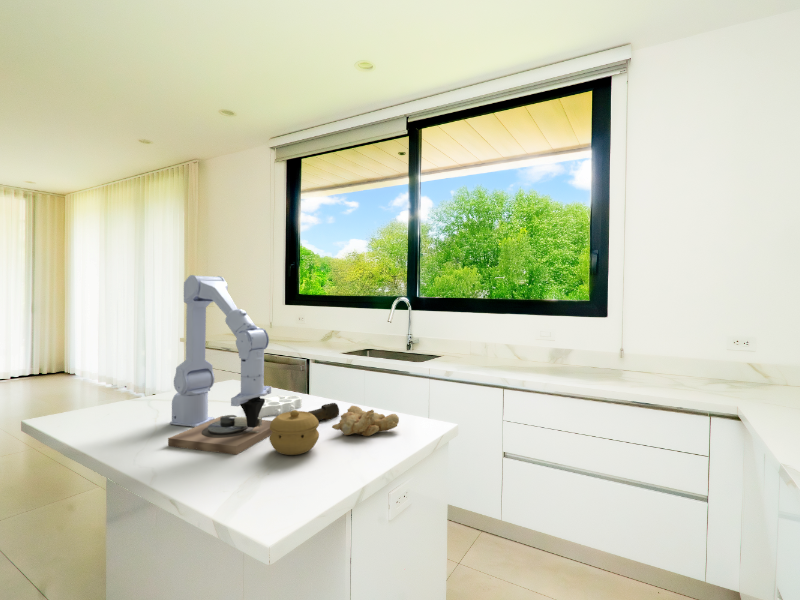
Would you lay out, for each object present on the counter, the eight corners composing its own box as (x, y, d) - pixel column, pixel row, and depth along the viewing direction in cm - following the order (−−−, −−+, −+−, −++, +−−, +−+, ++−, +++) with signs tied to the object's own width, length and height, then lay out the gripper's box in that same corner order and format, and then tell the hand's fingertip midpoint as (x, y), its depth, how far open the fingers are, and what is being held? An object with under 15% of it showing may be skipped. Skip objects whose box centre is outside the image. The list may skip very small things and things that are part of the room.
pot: (275, 443, 108) (275, 404, 108) (321, 442, 109) (321, 403, 108) (264, 461, 96) (264, 417, 96) (315, 460, 97) (315, 417, 97)
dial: (200, 433, 107) (200, 422, 107) (220, 422, 117) (220, 411, 117) (252, 435, 106) (252, 424, 106) (268, 423, 116) (268, 413, 116)
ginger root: (320, 428, 116) (326, 398, 117) (361, 428, 127) (367, 402, 128) (357, 444, 105) (364, 411, 106) (399, 443, 117) (404, 414, 118)
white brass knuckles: (284, 401, 150) (310, 409, 141) (237, 412, 137) (262, 421, 127) (284, 392, 150) (310, 399, 141) (237, 402, 137) (262, 410, 127)
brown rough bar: (288, 432, 117) (288, 415, 117) (281, 428, 120) (282, 412, 120) (343, 418, 130) (344, 403, 130) (336, 415, 133) (336, 401, 133)
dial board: (168, 446, 105) (168, 437, 105) (221, 422, 124) (222, 415, 124) (236, 454, 100) (236, 445, 100) (281, 428, 119) (281, 421, 119)
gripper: (248, 381, 102) (248, 437, 102) (280, 371, 116) (280, 420, 116) (223, 379, 104) (223, 434, 104) (258, 369, 117) (258, 418, 118)
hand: (252, 426), depth 110 cm, fingers closed
